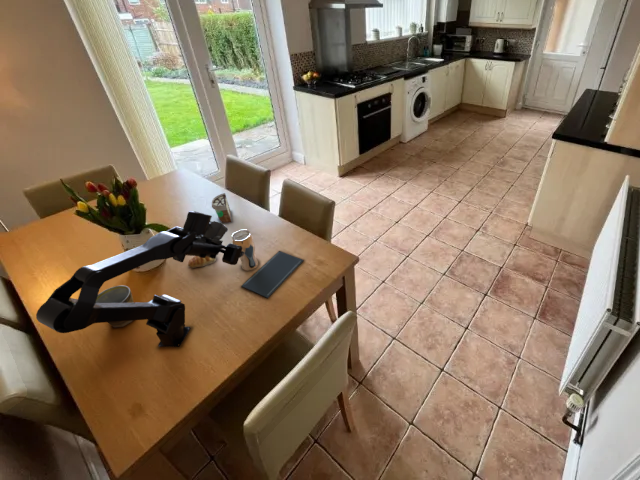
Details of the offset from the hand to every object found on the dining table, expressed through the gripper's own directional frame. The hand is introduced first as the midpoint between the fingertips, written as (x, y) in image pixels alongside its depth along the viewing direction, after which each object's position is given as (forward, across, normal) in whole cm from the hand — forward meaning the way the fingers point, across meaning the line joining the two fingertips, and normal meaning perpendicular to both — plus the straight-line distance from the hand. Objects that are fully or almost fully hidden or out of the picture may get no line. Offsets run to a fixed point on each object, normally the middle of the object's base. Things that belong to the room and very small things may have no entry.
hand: (233, 250), depth 111 cm
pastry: (+8, +18, +9) cm, 21 cm away
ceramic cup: (-13, +21, +30) cm, 39 cm away
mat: (+12, -11, +5) cm, 17 cm away
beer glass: (+12, 0, +5) cm, 13 cm away
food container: (+26, +32, -8) cm, 42 cm away
